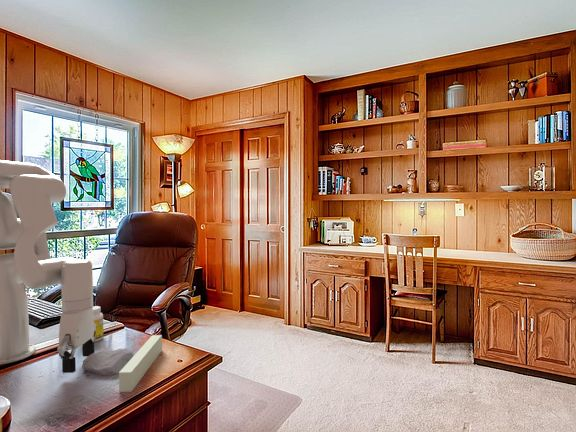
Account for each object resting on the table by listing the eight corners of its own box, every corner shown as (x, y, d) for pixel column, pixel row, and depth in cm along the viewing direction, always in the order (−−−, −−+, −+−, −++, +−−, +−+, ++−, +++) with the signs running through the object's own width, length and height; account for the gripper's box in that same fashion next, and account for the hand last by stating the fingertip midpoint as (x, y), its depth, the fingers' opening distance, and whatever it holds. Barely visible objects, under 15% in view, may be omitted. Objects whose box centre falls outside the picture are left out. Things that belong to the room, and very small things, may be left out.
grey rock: (116, 382, 95) (136, 359, 104) (113, 367, 94) (134, 345, 103) (77, 380, 97) (101, 358, 106) (74, 366, 96) (98, 344, 105)
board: (119, 392, 87) (118, 372, 87) (152, 350, 111) (152, 335, 111) (131, 391, 87) (131, 372, 87) (162, 350, 111) (161, 335, 111)
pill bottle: (79, 343, 117) (78, 310, 116) (89, 336, 123) (88, 305, 122) (97, 343, 117) (97, 310, 116) (107, 335, 123) (106, 305, 122)
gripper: (81, 295, 106) (82, 350, 106) (43, 314, 88) (45, 379, 89) (106, 295, 106) (107, 350, 107) (73, 313, 89) (75, 379, 90)
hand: (79, 363), depth 98 cm, fingers open, 9 cm apart
